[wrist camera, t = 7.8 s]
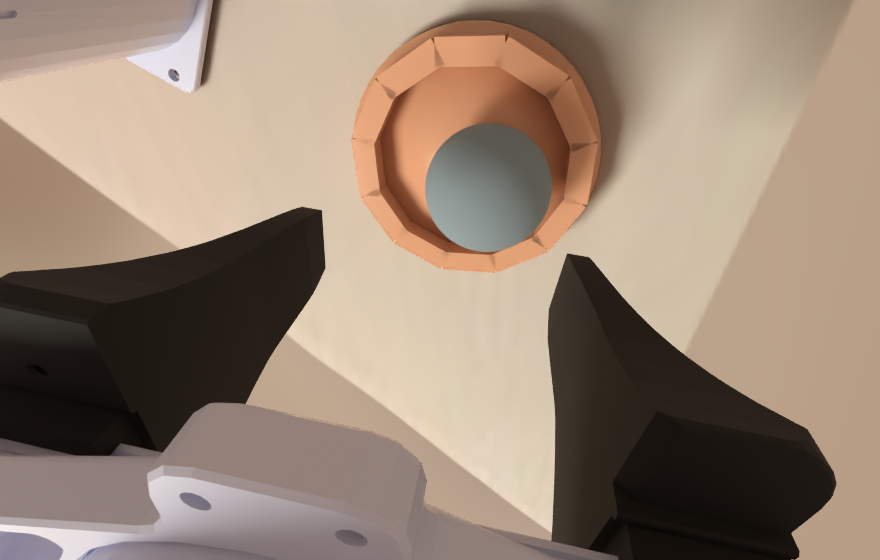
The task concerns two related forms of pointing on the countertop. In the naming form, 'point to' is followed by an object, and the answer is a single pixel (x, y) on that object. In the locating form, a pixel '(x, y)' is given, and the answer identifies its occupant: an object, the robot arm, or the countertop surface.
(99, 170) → the countertop surface
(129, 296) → the robot arm
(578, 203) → the bowl
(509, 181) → the ball
